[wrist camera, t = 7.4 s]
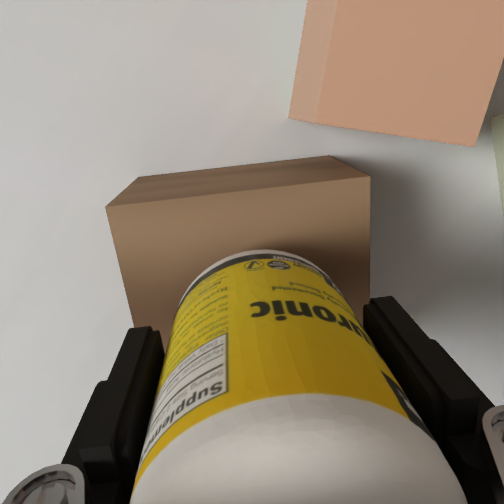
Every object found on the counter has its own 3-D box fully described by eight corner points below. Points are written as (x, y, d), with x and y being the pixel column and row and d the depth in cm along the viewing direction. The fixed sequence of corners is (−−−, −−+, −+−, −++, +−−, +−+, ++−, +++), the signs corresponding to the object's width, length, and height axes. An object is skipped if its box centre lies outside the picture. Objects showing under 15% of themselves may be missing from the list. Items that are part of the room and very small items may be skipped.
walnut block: (333, 319, 19) (368, 388, 15) (171, 340, 19) (156, 416, 15) (328, 155, 17) (370, 176, 12) (138, 177, 16) (105, 206, 12)
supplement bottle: (379, 310, 13) (787, 856, 3) (268, 416, 14) (353, 1027, 5) (250, 206, 11) (373, 678, 2) (139, 335, 12) (-103, 996, 3)
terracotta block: (403, 135, 17) (474, 147, 12) (288, 117, 16) (315, 123, 11) (439, -2, 15) (538, -49, 10) (311, -26, 14) (354, -89, 10)
